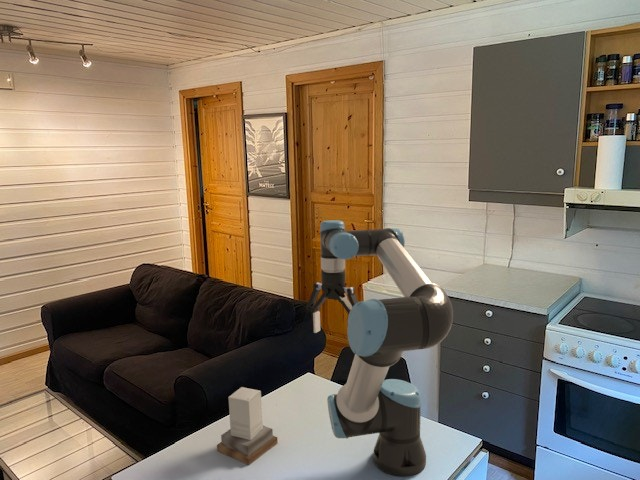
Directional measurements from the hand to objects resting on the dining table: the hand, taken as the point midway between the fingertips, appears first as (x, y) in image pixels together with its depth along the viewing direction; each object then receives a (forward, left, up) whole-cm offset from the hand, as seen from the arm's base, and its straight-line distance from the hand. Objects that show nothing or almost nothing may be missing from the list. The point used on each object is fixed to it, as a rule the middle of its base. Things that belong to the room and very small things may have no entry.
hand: (334, 335), depth 154 cm
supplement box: (+17, +24, -27) cm, 40 cm away
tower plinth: (+17, +24, -32) cm, 43 cm away
